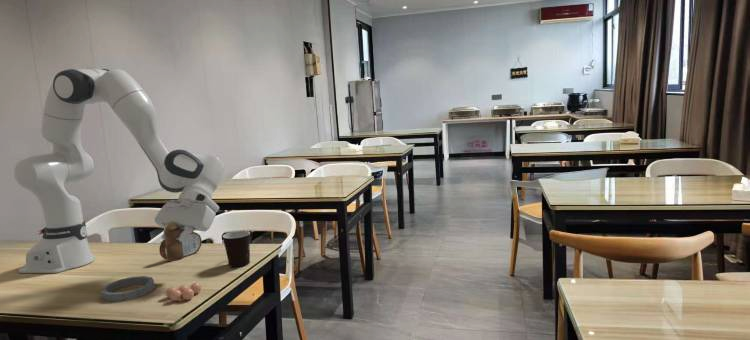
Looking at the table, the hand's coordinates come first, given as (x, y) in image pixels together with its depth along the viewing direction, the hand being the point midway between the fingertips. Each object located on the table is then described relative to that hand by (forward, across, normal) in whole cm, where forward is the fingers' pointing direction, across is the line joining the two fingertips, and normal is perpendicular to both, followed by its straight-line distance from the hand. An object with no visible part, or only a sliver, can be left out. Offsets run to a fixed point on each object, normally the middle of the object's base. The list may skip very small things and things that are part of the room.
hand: (171, 240), depth 146 cm
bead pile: (+15, +13, +2) cm, 20 cm away
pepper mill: (+4, 0, +5) cm, 6 cm away
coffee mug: (-4, +9, +22) cm, 24 cm away
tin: (-3, -16, +22) cm, 27 cm away
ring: (+17, -7, +1) cm, 18 cm away
